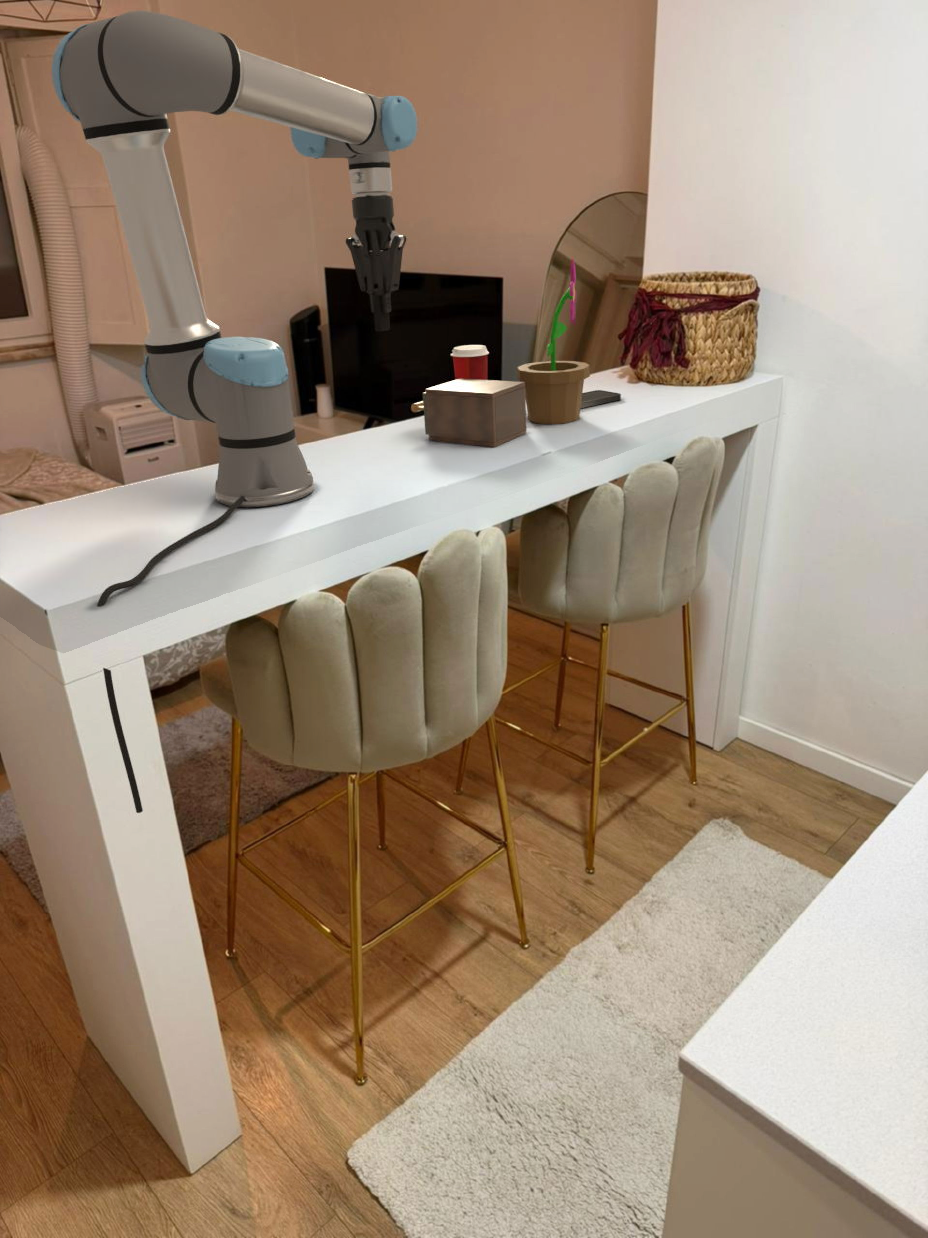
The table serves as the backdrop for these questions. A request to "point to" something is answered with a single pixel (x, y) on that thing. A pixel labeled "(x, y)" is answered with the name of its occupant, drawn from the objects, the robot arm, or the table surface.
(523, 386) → the cabinet
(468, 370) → the paper cup
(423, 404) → the drawer
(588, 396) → the phone
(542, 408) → the flowerpot
